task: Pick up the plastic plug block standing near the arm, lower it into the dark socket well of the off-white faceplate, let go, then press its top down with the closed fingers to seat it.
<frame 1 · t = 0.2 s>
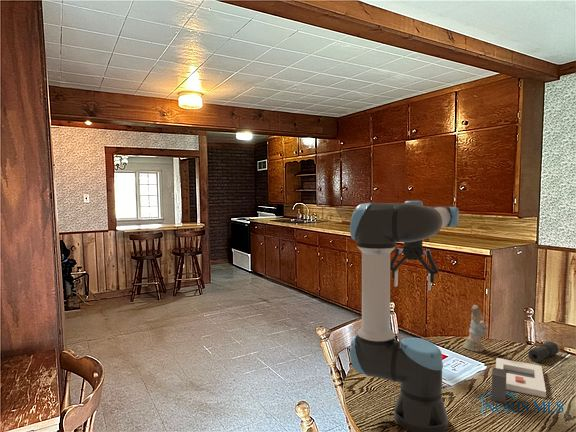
hand: (412, 288, 163), 28 cm above the table, fingers open, 13 cm apart
plug: (498, 397, 128), on the table
figurine: (474, 349, 168), on the table
socket plate: (518, 378, 141), on the table
flashlight: (543, 358, 159), on the table
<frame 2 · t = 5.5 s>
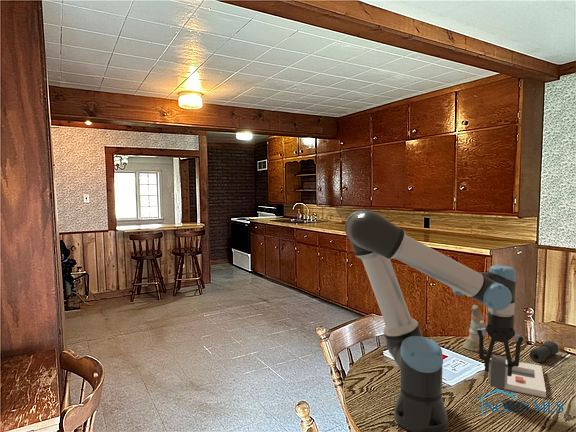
hand: (497, 382, 128), 5 cm above the table, fingers closed on plug, 4 cm apart
plug: (497, 383, 128), point 5 cm above the table, touching gripper
everything else where it was.
when the fingers open (2 cm above the table, at t = 10.5 s): plug drops 1 cm, resting on socket plate.
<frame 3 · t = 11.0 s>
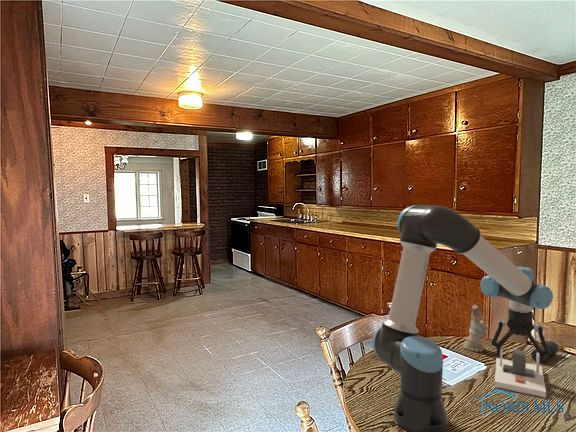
hand: (518, 368, 142), 3 cm above the table, fingers open, 11 cm apart
plug: (518, 375, 143), resting on socket plate
everything else where it was.
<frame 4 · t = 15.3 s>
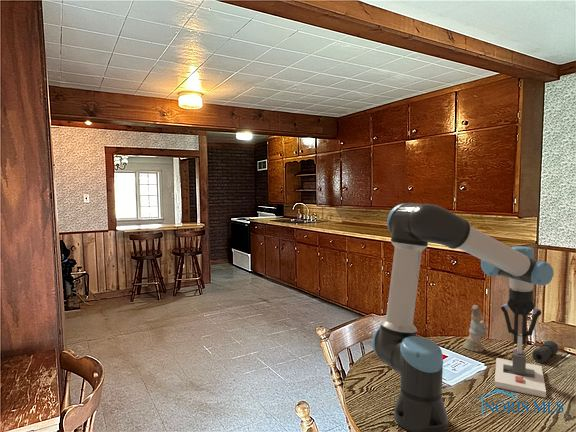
hand: (519, 352, 142), 9 cm above the table, fingers closed
plug: (518, 375, 143), resting on socket plate, touching gripper
everything else where it was.
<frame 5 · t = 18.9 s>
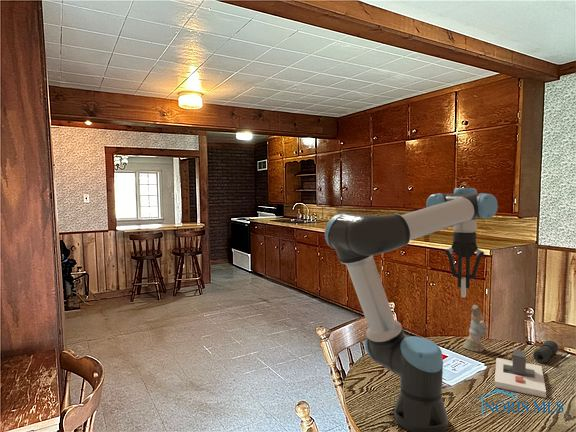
hand: (463, 296, 139), 30 cm above the table, fingers closed
plug: (518, 375, 143), resting on socket plate
everything else where it was.
at the end: plug 0.1 cm from the target spot on the socket plate, point 0.2 cm above the socket plate's base; plug tilted 0°; the gripper is holding nothing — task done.
